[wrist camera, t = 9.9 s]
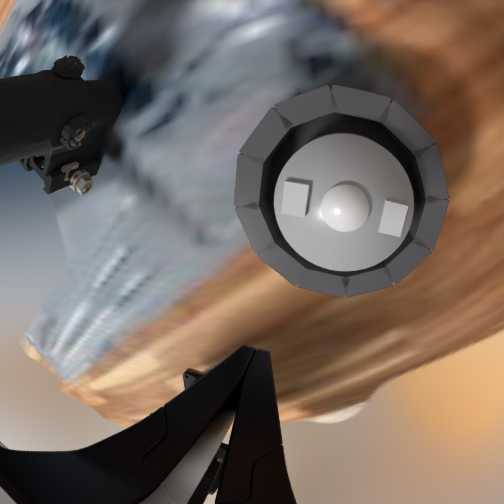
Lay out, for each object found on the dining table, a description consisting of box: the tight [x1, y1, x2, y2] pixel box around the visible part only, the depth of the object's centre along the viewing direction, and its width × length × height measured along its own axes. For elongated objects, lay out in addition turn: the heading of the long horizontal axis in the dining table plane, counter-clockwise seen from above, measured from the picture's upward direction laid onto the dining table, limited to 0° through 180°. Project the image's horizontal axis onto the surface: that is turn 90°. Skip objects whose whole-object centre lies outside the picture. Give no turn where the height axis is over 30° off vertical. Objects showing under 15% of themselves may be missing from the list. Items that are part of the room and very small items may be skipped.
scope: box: [0, 56, 122, 195], centre depth 13 cm, size 8×14×10 cm
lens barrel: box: [234, 84, 449, 298], centre depth 14 cm, size 10×10×5 cm
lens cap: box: [274, 132, 414, 271], centre depth 12 cm, size 6×6×3 cm
